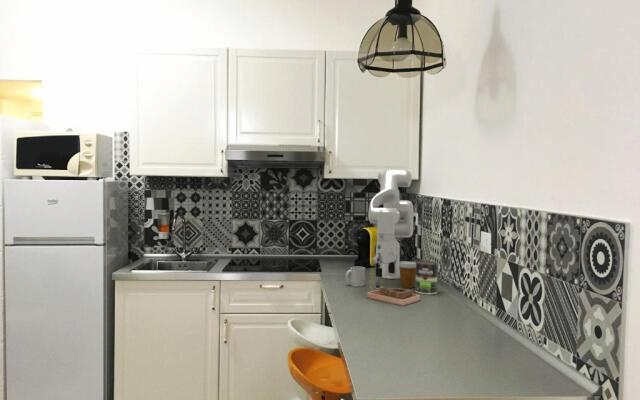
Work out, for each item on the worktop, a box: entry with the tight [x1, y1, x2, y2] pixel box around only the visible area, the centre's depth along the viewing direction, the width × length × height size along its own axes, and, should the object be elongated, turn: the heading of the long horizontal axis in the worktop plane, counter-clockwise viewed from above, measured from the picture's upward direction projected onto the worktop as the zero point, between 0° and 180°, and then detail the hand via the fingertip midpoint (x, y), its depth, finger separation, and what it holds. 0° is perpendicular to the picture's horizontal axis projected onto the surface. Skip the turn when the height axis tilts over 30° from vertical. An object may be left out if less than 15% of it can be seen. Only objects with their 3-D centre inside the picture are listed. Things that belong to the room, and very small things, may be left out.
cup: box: [345, 265, 366, 288], centre depth 234 cm, size 7×10×9 cm
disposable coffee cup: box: [398, 260, 417, 289], centre depth 233 cm, size 10×10×12 cm
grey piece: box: [373, 275, 382, 290], centre depth 227 cm, size 4×4×8 cm
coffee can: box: [414, 260, 439, 296], centre depth 221 cm, size 10×10×14 cm
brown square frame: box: [379, 285, 413, 300], centre depth 207 cm, size 14×8×4 cm, turn 47°
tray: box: [366, 289, 421, 307], centre depth 207 cm, size 13×19×2 cm
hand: (385, 274), depth 210 cm, fingers open, 9 cm apart
